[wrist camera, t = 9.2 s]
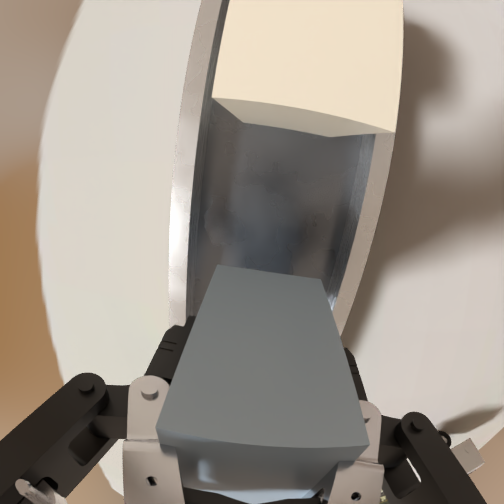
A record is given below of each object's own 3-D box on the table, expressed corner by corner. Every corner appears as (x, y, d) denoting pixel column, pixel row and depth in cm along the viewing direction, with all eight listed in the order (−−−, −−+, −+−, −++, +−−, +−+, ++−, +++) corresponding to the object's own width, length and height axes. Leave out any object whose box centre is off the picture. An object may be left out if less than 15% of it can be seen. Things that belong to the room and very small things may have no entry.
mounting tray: (224, -9, 11) (213, -40, 8) (379, 18, 11) (402, -5, 8) (186, 361, 22) (173, 395, 18) (302, 377, 22) (305, 414, 18)
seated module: (255, 37, 11) (240, -50, 4) (342, 52, 11) (403, -16, 4) (242, 122, 13) (209, 97, 6) (330, 137, 13) (396, 133, 6)
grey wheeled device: (462, 420, 28) (406, 444, 25) (487, 460, 19) (434, 499, 16) (447, 435, 30) (388, 458, 26) (470, 474, 21) (413, 511, 17)
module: (216, 263, 12) (152, 425, 4) (321, 279, 12) (372, 444, 4) (209, 350, 14) (173, 491, 6) (297, 362, 14) (307, 504, 6)
